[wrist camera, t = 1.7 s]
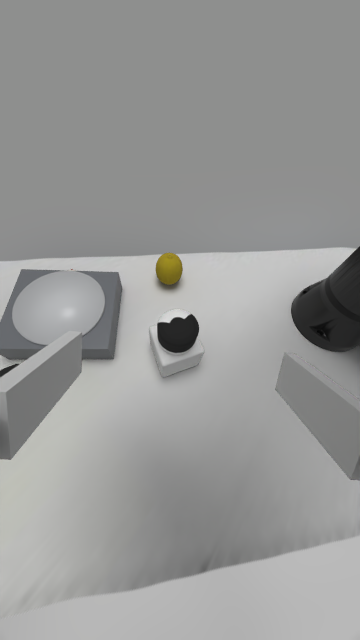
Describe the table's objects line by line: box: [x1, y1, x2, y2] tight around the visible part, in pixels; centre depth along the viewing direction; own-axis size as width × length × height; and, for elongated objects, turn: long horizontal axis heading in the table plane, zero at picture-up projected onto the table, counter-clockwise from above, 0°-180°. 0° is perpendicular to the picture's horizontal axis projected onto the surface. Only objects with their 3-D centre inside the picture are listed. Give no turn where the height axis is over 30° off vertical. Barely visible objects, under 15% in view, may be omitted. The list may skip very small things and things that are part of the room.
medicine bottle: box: [149, 309, 204, 377], centre depth 37 cm, size 7×7×12 cm
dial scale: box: [0, 269, 122, 359], centre depth 41 cm, size 18×17×6 cm
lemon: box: [156, 253, 182, 284], centre depth 46 cm, size 6×6×8 cm
